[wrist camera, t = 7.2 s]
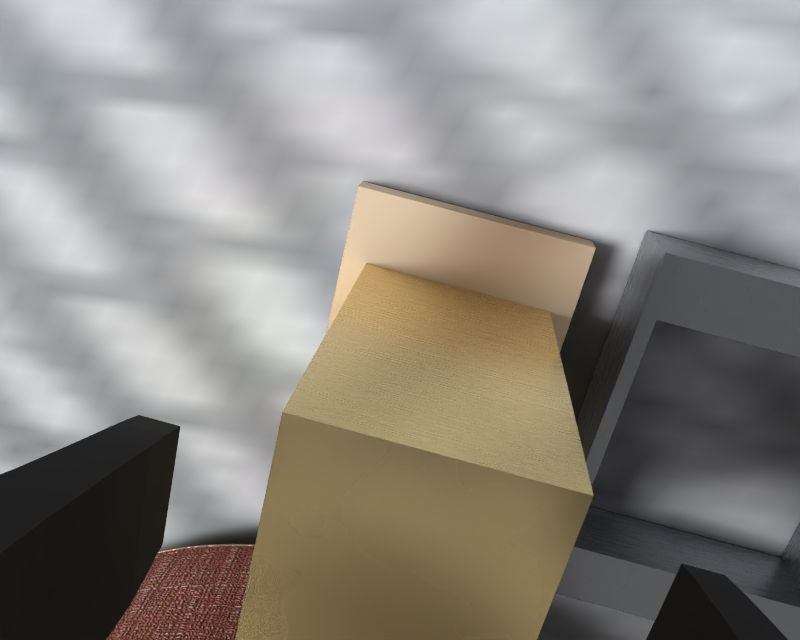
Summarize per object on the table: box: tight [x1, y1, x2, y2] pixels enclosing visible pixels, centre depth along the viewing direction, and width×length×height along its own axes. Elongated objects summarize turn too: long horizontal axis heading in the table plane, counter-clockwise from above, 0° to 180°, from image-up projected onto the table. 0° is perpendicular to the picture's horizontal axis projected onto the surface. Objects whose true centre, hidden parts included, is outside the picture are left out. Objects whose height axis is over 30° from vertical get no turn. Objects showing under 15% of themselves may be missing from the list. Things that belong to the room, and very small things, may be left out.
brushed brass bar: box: [235, 263, 594, 640], centre depth 13 cm, size 4×4×7 cm
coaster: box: [326, 181, 596, 353], centre depth 17 cm, size 5×7×1 cm
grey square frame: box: [556, 231, 800, 640], centre depth 16 cm, size 9×8×2 cm
